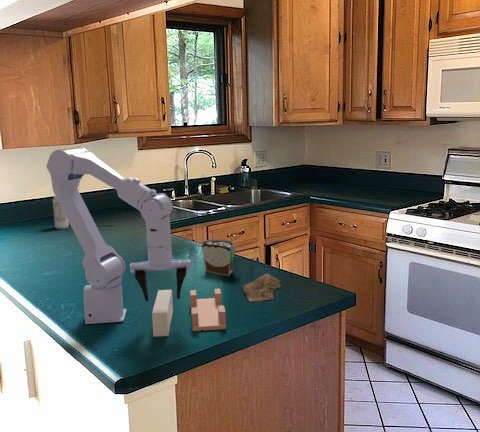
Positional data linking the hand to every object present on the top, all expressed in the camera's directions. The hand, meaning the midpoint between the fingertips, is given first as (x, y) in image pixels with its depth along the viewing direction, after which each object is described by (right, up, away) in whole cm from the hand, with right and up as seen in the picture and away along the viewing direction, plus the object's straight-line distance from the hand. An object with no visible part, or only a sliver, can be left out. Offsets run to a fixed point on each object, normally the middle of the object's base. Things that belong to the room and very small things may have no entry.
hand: (162, 298), depth 130 cm
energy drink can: (-63, +15, +115) cm, 132 cm away
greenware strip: (0, -6, +1) cm, 7 cm away
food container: (+13, +2, +42) cm, 44 cm away
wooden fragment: (+25, -1, +26) cm, 36 cm away
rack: (+11, -5, +5) cm, 13 cm away
